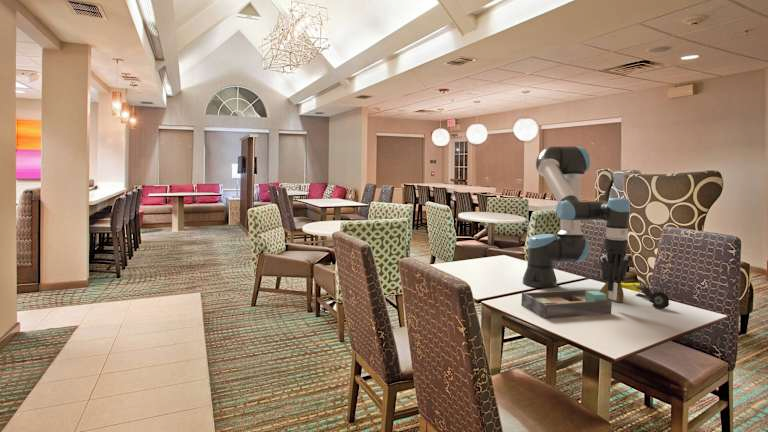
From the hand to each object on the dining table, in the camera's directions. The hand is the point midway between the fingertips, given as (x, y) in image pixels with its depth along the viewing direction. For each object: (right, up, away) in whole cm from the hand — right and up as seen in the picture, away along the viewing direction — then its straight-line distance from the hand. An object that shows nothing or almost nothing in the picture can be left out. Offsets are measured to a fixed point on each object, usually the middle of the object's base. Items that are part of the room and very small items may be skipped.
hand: (612, 299), depth 174 cm
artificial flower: (+22, -4, +14) cm, 26 cm away
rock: (+7, -3, +15) cm, 17 cm away
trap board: (-18, -4, 0) cm, 18 cm away
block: (-7, -1, -2) cm, 8 cm away
